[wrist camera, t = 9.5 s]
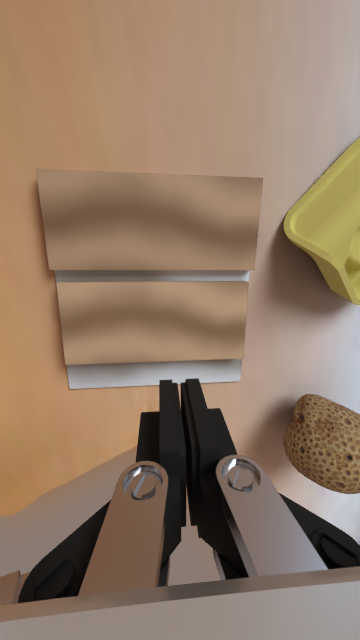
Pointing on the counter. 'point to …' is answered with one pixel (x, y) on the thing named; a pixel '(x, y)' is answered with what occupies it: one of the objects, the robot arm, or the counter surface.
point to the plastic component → (332, 224)
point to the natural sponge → (325, 443)
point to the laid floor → (149, 247)
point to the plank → (152, 320)
